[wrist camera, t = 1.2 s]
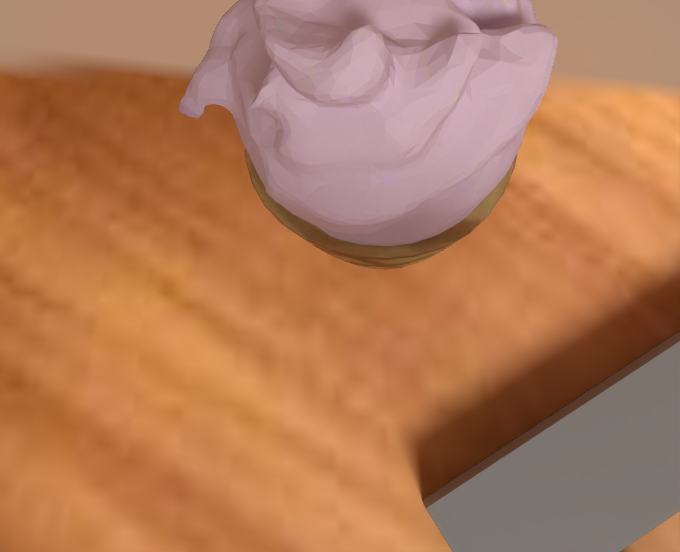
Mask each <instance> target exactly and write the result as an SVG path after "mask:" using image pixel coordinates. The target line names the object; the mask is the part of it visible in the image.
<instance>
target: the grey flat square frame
mask: <svg viewBox="0 0 680 552" xmlns="http://www.w3.org/2000/svg"><path fill="white" fill-rule="evenodd" d="M422 501H423V503H424V505H425V508H426V509H427V511H428V513H429V514H430V516H431V517H432V519H433V521H434V522H435V524H436V526H437V527H438V529H439V530H440V532H441V534H442V535H443V537H444V538H445V540H446V542H447V543H448V545H449V547H450V548H451V550H452V551H453V552H620V551H622V550H623V549H625V548H626V547H627V546H629V545H630V544H632V543H633V542H635V541H636V540H638V539H639V538H641V537H642V536H644V535H645V534H647V533H648V532H650V531H651V530H653V529H654V528H655V527H657V526H658V525H660V524H661V523H663V522H664V521H666V520H667V519H669V518H670V517H672V516H673V515H675V514H676V513H678V512H679V511H680V331H679V332H677V333H676V334H674V335H673V336H671V337H670V338H668V339H667V340H665V341H664V342H662V343H661V344H659V345H658V346H656V347H655V348H653V349H652V350H650V351H648V352H647V353H645V354H644V355H642V356H641V357H639V358H638V359H636V360H635V361H633V362H632V363H630V364H629V365H627V366H626V367H624V368H623V369H621V370H620V371H618V372H617V373H615V374H613V375H612V376H610V377H609V378H607V379H606V380H604V381H603V382H601V383H600V384H598V385H597V386H595V387H594V388H592V389H591V390H589V391H588V392H586V393H585V394H583V395H581V396H580V397H578V398H577V399H575V400H574V401H572V402H571V403H569V404H568V405H566V406H565V407H563V408H562V409H560V410H559V411H557V412H556V413H554V414H553V415H551V416H550V417H548V418H546V419H545V420H543V421H542V422H540V423H539V424H537V425H536V426H534V427H533V428H531V429H530V430H528V431H527V432H525V433H524V434H522V435H521V436H519V437H518V438H516V439H515V440H513V441H511V442H510V443H508V444H507V445H505V446H504V447H502V448H501V449H499V450H498V451H496V452H495V453H493V454H492V455H490V456H489V457H487V458H486V459H484V460H483V461H481V462H480V463H478V464H476V465H475V466H473V467H472V468H470V469H469V470H467V471H466V472H464V473H463V474H461V475H460V476H458V477H457V478H455V479H454V480H452V481H451V482H449V483H448V484H446V485H444V486H443V487H441V488H440V489H438V490H437V491H435V492H434V493H432V494H431V495H429V496H428V497H426V498H425V499H423V500H422Z"/></svg>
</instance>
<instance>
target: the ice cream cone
mask: <svg viewBox="0 0 680 552" xmlns="http://www.w3.org/2000/svg"><path fill="white" fill-rule="evenodd" d="M557 43H558V39H557V38H556V36H555V35H554V33H553V32H552V30H551V29H550V28H548V27H546V26H543V25H541V24H538V23H537V19H536V16H535V13H534V10H533V7H532V4H531V1H530V0H239V1H238V2H236V3H235V5H233V6H232V7H231V8H230V9H229V10H228V11H227V12H226V13H225V14H224V15H223V16H222V18H221V19H220V21H219V23H218V24H217V26H216V28H215V31H214V33H213V36H212V39H211V42H210V46H209V50H208V51H207V53H206V55H205V57H204V58H203V60H202V62H201V63H200V64H199V66H198V67H197V68H196V70H195V72H194V74H193V76H192V79H191V81H190V83H189V85H188V87H187V89H186V93H185V96H184V97H183V98H182V100H181V101H180V105H179V112H181V113H183V114H184V115H186V116H188V117H192V118H196V119H199V117H200V116H201V115H202V114H203V113H204V108H205V106H207V105H212V104H214V105H219V106H223V107H224V108H226V109H227V110H229V111H230V112H231V113H232V114H233V118H234V120H235V123H236V126H237V129H238V132H239V135H240V137H241V139H242V142H243V144H244V146H245V157H246V162H247V166H248V170H249V173H250V177H251V181H252V184H253V186H254V187H255V189H256V191H257V193H258V195H259V197H260V199H261V200H262V202H263V204H264V206H265V207H266V208H267V209H268V210H269V211H270V212H271V213H272V214H273V215H274V216H275V217H276V218H277V219H278V221H279V222H280V223H281V224H283V225H284V226H286V227H287V228H289V229H290V230H292V231H293V232H295V233H296V234H297V235H299V236H300V237H302V238H303V239H305V240H307V241H308V242H310V243H311V244H313V245H314V246H316V247H318V248H319V249H321V250H322V251H324V252H326V253H327V254H329V255H332V256H334V257H336V258H339V259H341V260H343V261H346V262H349V263H352V264H355V265H359V266H363V267H367V268H375V269H392V268H401V267H404V266H408V265H411V264H415V263H418V262H421V261H424V260H426V259H428V258H430V257H432V256H433V255H435V254H437V253H439V252H441V251H443V250H444V249H446V248H447V247H449V246H450V245H452V244H453V243H455V242H457V241H458V240H460V239H461V238H463V237H464V236H466V235H467V234H469V233H470V232H471V231H472V230H473V229H474V228H475V227H476V226H478V225H479V224H480V223H481V222H482V221H483V220H484V219H485V218H486V217H487V216H488V215H489V214H490V213H491V211H492V210H493V208H494V207H495V205H496V204H497V202H498V201H499V199H500V198H501V197H502V195H503V194H504V191H505V189H506V187H507V184H508V182H509V180H510V177H511V175H512V173H513V170H514V167H515V162H516V158H517V153H518V151H519V148H520V146H521V144H522V140H523V136H524V132H525V129H526V125H527V123H528V122H529V121H530V119H531V118H532V116H533V115H534V113H535V112H536V110H537V109H538V107H539V105H540V102H541V100H542V97H543V95H544V93H545V90H546V88H547V85H548V83H549V79H550V75H551V72H552V68H553V64H554V59H555V56H556V51H557Z"/></svg>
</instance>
